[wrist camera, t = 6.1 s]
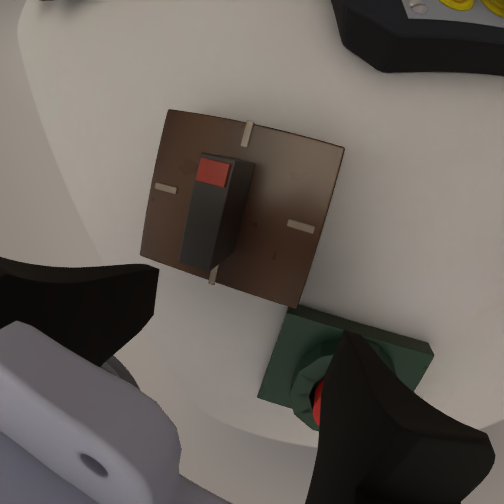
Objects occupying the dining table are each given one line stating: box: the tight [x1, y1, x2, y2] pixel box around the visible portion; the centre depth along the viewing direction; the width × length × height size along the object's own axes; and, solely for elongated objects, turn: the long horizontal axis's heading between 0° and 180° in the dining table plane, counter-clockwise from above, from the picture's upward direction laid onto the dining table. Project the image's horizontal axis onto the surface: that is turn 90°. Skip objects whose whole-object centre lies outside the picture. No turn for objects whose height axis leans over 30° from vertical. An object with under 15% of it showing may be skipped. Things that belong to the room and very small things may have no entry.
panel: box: [140, 109, 345, 309], centre depth 18 cm, size 10×9×3 cm
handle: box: [178, 153, 255, 272], centre depth 15 cm, size 5×2×4 cm, turn 165°
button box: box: [257, 305, 434, 431], centre depth 19 cm, size 10×7×4 cm
